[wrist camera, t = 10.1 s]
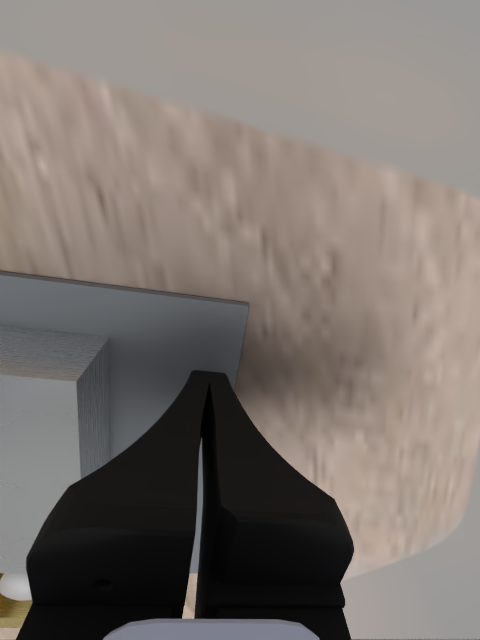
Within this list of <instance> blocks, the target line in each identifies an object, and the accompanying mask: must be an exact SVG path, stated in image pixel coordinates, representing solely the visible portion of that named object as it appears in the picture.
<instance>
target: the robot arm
mask: <svg viewBox="0 0 480 640" xmlns="http://www.w3.org/2000/svg"><path fill="white" fill-rule="evenodd" d="M201 438H202V472H203V507H202V522H201V537H200V551H199V565H198V578H197V591H196V604H195V617H194V619H182V614H183V608H184V605H185V598H186V592H187V585H188V579H189V572H190V566H191V559H192V553H193V546H194V540H195V532H196V518H197V493H198V466H199V449H200V444H201ZM353 553H354V546H353V541H352V538H351V535H350V532H349V530H348V527H347V525H346V522H345V520H344V518H343V516H342V514H341V512H340V510H339V508H338V506H337V504H336V502H335V500H334V499H333V498H332V497H331V496H329V495H328V494H326V493H325V492H324V491H322V490H321V489H320V488H318V487H317V486H315V485H314V484H313V483H311V482H310V481H309V480H307V479H306V478H305V477H304V476H303V475H301V474H300V473H299V472H298V471H297V470H295V469H294V468H293V467H292V466H291V465H290V464H289V463H288V462H286V461H285V460H284V459H283V458H282V457H281V456H280V455H279V454H278V453H277V452H276V451H275V450H274V449H273V448H272V446H271V445H270V444H269V443H268V442H267V441H266V440H265V438H264V437H263V436H262V435H261V433H260V432H259V431H258V429H257V428H256V427H255V425H254V424H253V423H252V421H251V420H250V418H249V417H248V415H247V414H246V412H245V410H244V409H243V407H242V405H241V403H240V402H239V400H238V398H237V396H236V394H235V392H234V390H233V388H232V386H231V384H230V381H229V379H228V376H227V375H226V373H220V372H210V371H200V370H193V371H192V372H191V373H190V376H189V378H188V380H187V382H186V384H185V385H184V387H183V389H182V390H181V392H180V393H179V394H178V396H177V397H176V399H175V400H174V401H173V403H172V404H171V405H170V406H169V408H168V409H167V410H166V411H165V412H164V414H163V415H162V416H161V417H160V418H159V419H158V420H157V421H156V422H155V423H154V424H153V425H152V426H151V427H150V428H149V429H148V430H147V431H146V432H145V433H144V434H143V435H142V436H141V437H140V438H139V439H137V440H136V441H135V442H134V443H133V444H132V445H130V446H129V447H128V448H127V449H125V450H124V451H123V452H121V453H120V454H119V455H117V456H116V457H114V458H113V459H112V460H110V461H109V462H108V463H106V464H105V465H103V466H102V467H100V468H99V469H97V470H96V471H94V472H92V473H91V474H89V475H87V476H86V477H84V478H82V479H81V480H79V481H77V482H75V483H74V484H72V485H70V486H69V487H68V488H67V489H66V491H65V492H64V493H63V495H62V496H61V498H60V499H59V500H58V502H57V503H56V505H55V506H54V508H53V509H52V511H51V512H50V514H49V515H48V517H47V518H46V520H45V522H44V523H43V525H42V527H41V529H40V531H39V533H38V535H37V537H36V539H35V541H34V543H33V545H32V547H31V549H30V551H29V553H28V555H27V557H26V571H27V576H28V581H29V587H30V592H31V597H32V602H33V603H32V605H31V607H30V609H29V612H28V614H27V616H26V618H25V620H24V623H23V625H22V627H21V629H20V632H19V634H18V636H17V638H16V640H480V639H351V637H350V634H349V630H348V627H347V624H346V620H345V616H344V613H343V609H342V608H344V606H345V598H344V595H343V591H342V588H341V585H340V582H341V580H342V578H343V576H344V574H345V572H346V570H347V568H348V566H349V564H350V562H351V560H352V556H353Z"/></svg>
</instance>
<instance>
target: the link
mask: <svg viewBox="0 0 480 640" xmlns="http://www.w3.org/2000/svg"><path fill="white" fill-rule="evenodd" d="M109 461H110V337H108V336H99V335H90V334H81V333H73V332H64V331H55V330H46V329H38V328H29V327H20V326H11V325H2V324H0V579H1V578H2V576H3V574H4V573H11V574H27V571H26V557H27V555H28V553H29V551H30V549H31V547H32V545H33V543H34V541H35V539H36V537H37V535H38V533H39V531H40V529H41V527H42V525H43V523H44V522H45V520H46V518H47V517H48V515H49V514H50V512H51V511H52V509H53V508H54V506H55V505H56V503H57V502H58V500H59V499H60V498H61V496H62V495H63V493H64V492H65V491H66V489H67V488H68V487H69V486H70V485H72V484H74V483H75V482H77V481H79V480H81V479H82V478H84V477H86V476H87V475H89V474H91V473H92V472H94V471H96V470H97V469H99V468H100V467H102V466H103V465H105V464H106V463H108V462H109ZM32 603H33V602H32V600H27V601H19V600H13V599H10V598H7V597H5V596H3V595H2V594H1V593H0V628H21V627H22V625H23V623H24V620H25V618H26V616H27V614H28V612H29V609H30V607H31V605H32Z"/></svg>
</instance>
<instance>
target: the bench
mask: <svg viewBox="0 0 480 640" xmlns="http://www.w3.org/2000/svg"><path fill="white" fill-rule="evenodd" d="M248 311H249V303H247V302H239V301H231V300H223V299H215V298H207V297H200V296H192V295H184V294H176V293H168V292H160V291H152V290H144V289H136V288H129V287H121V286H113V285H105V284H97V283H89V282H81V281H73V280H66V279H58V278H50V277H42V276H34V275H26V274H18V273H10V272H2V271H0V324H2V325H11V326H20V327H29V328H38V329H46V330H55V331H64V332H73V333H81V334H90V335H99V336H108V337H110V460H112V459H113V458H114V457H116V456H117V455H119V454H120V453H121V452H123V451H124V450H125V449H127V448H128V447H129V446H130V445H132V444H133V443H134V442H135V441H136V440H137V439H139V438H140V437H141V436H142V435H143V434H144V433H145V432H146V431H147V430H148V429H149V428H150V427H151V426H152V425H153V424H154V423H155V422H156V421H157V420H158V419H159V418H160V417H161V416H162V415H163V414H164V412H165V411H166V410H167V409H168V408H169V406H170V405H171V404H172V403H173V401H174V400H175V399H176V397H177V396H178V394H179V393H180V392H181V390H182V389H183V387H184V385H185V384H186V382H187V380H188V378H189V376H190V373H191V372H192V371H193V370H200V371H210V372H220V373H226V375H227V376H228V379H229V381H230V384H231V386H232V388H233V390H234V389H235V384H236V378H237V372H238V367H239V361H240V356H241V350H242V345H243V339H244V333H245V328H246V322H247V317H248ZM202 507H203V472H202V438H201V444H200V449H199V466H198V493H197V518H196V532H195V540H194V546H193V553H192V559H191V566H190V572H189V573H198V565H199V551H200V537H201V522H202ZM0 593H1V594H2V595H3V596H5V597H7V598H10V599H13V600H19V601H27V600H32V597H31V592H30V587H29V581H28V576H27V574H11V573H4V574H3V576H2V578H1V579H0Z"/></svg>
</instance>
